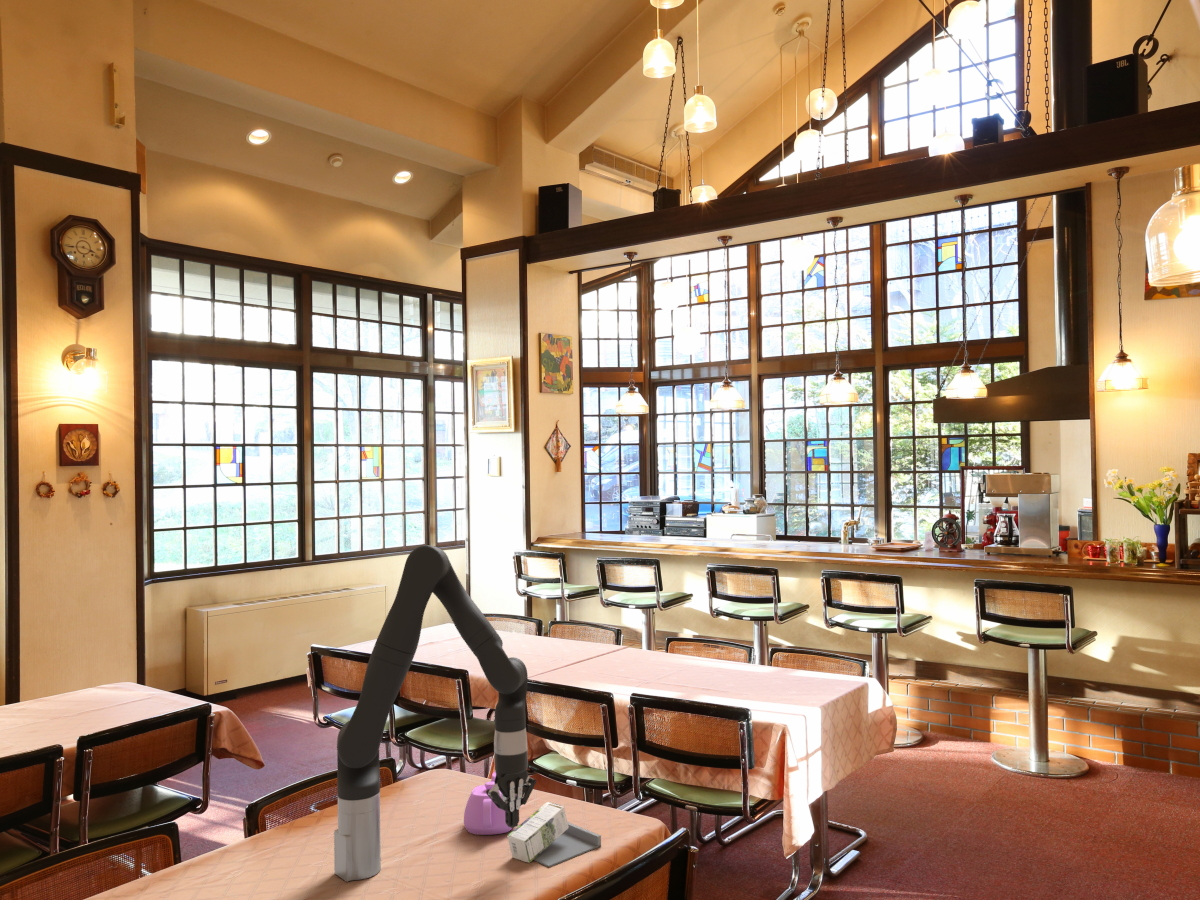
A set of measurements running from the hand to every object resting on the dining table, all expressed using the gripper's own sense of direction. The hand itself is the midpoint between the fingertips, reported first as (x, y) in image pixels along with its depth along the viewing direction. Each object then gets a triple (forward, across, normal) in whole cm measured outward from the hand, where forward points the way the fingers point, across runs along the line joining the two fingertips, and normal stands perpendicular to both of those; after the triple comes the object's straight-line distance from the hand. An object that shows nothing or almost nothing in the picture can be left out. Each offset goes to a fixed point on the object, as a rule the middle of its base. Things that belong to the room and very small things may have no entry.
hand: (512, 826), depth 195 cm
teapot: (+9, +10, +22) cm, 26 cm away
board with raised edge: (+9, +13, 0) cm, 15 cm away
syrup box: (+6, +2, 0) cm, 6 cm away
